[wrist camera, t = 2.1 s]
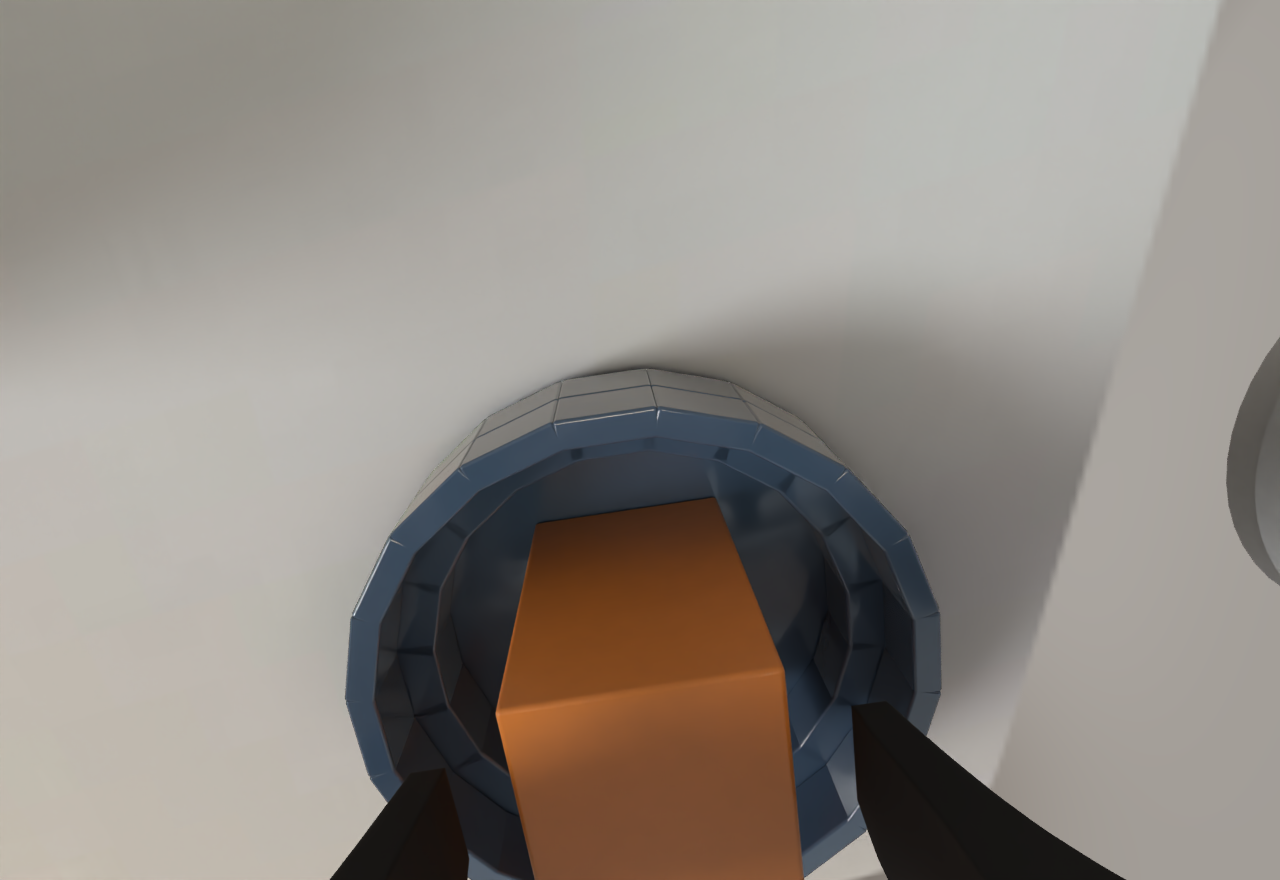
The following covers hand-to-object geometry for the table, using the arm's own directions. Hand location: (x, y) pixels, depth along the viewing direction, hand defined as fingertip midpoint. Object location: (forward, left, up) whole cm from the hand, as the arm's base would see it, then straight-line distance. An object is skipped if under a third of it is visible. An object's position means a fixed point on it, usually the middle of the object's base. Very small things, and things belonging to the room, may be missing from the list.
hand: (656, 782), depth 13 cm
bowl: (0, 0, -6) cm, 6 cm away
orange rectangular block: (0, 0, -6) cm, 6 cm away
